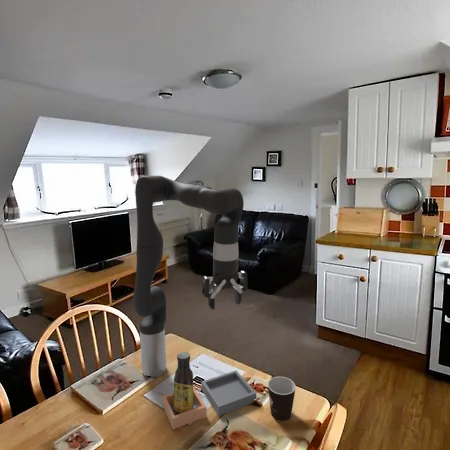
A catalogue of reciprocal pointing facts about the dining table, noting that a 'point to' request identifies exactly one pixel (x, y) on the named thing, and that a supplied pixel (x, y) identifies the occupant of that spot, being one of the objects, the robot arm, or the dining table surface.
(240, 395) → the tray
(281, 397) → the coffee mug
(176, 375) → the sauce bottle
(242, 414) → the dining table surface
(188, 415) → the holder box
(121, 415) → the dining table surface
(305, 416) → the dining table surface
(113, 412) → the dining table surface
